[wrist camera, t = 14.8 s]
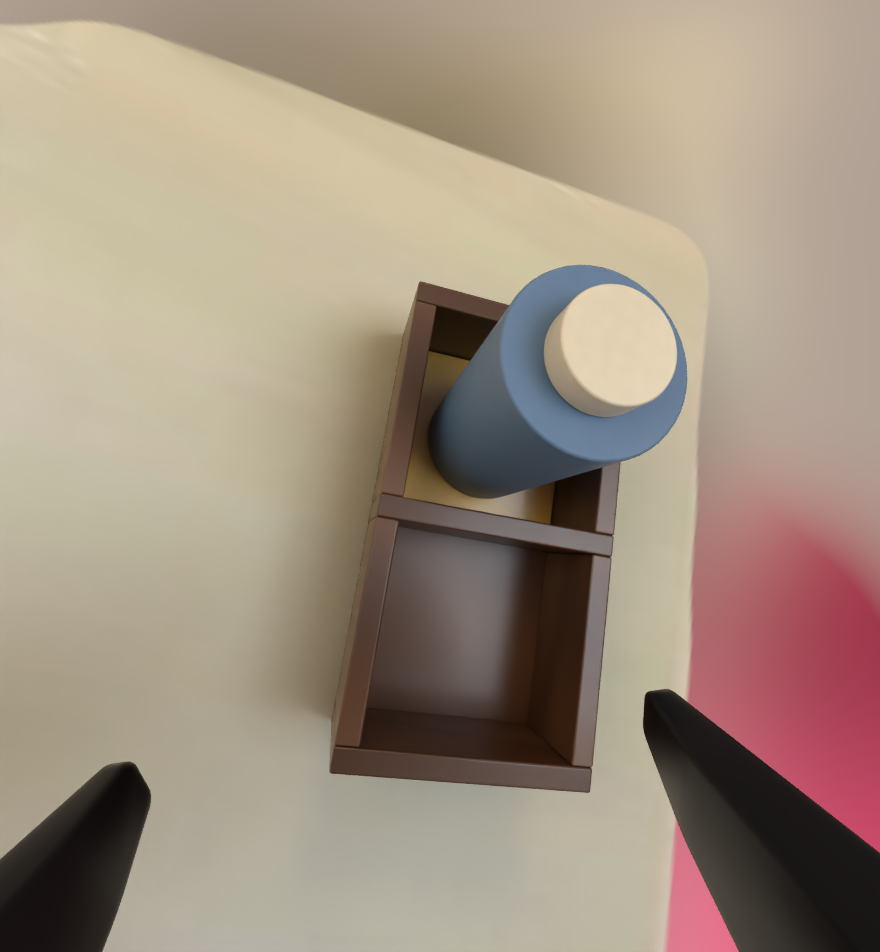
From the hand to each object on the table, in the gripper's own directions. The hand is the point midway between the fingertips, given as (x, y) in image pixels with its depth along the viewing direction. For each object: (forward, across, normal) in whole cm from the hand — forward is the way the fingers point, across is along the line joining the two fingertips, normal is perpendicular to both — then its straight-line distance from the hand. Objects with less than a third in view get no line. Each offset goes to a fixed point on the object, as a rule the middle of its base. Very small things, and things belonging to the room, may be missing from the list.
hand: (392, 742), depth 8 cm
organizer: (+12, -2, +3) cm, 13 cm away
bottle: (+14, -4, 0) cm, 14 cm away
